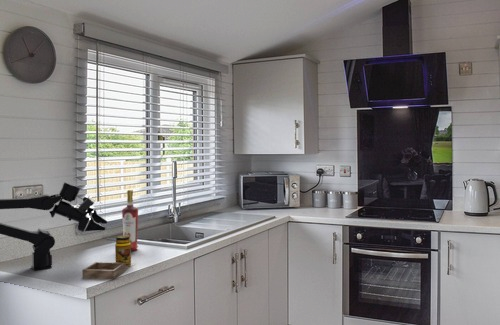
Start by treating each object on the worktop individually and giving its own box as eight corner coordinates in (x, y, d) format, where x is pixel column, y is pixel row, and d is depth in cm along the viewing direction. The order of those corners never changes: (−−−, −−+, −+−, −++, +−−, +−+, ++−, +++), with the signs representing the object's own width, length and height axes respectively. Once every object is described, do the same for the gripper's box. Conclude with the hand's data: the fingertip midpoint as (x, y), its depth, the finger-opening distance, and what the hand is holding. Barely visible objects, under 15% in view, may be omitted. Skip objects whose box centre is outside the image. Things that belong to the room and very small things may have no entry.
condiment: (125, 269, 177) (125, 238, 177) (107, 267, 180) (106, 237, 179) (135, 264, 184) (135, 235, 184) (118, 262, 187) (117, 234, 186)
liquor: (120, 251, 205) (119, 191, 204) (124, 248, 213) (124, 189, 212) (136, 251, 205) (135, 190, 204) (140, 248, 213) (139, 189, 212)
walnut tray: (82, 277, 165) (82, 269, 165) (96, 269, 176) (95, 262, 176) (114, 278, 164) (114, 270, 164) (125, 270, 175) (125, 262, 175)
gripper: (74, 199, 174) (112, 214, 178) (81, 188, 192) (115, 203, 196) (62, 224, 174) (100, 239, 179) (70, 212, 192) (104, 225, 196)
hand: (106, 225), depth 187 cm, fingers open, 9 cm apart
